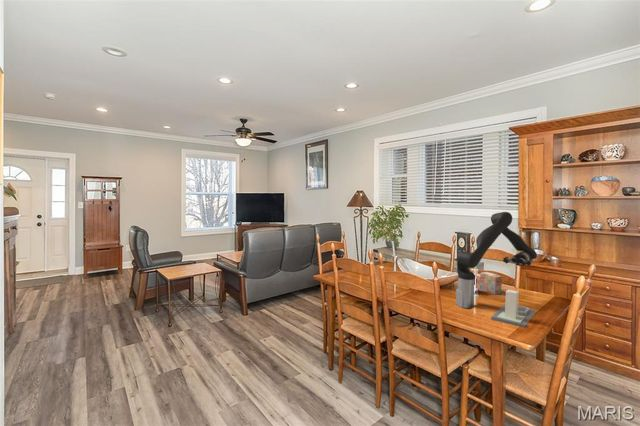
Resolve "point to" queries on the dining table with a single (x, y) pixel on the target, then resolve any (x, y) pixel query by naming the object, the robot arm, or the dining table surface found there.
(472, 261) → the robot arm
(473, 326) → the dining table surface
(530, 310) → the grey tray
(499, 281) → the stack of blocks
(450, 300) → the dining table surface
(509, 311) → the cream block
